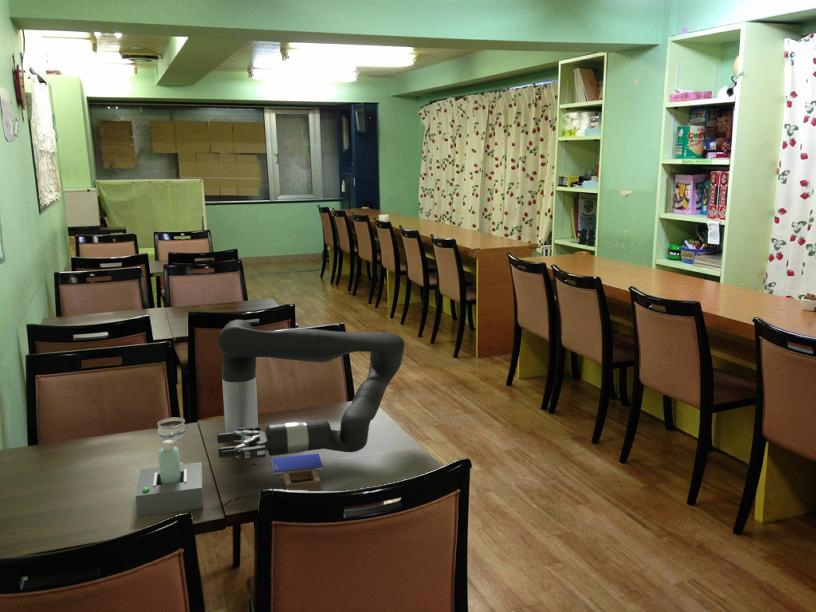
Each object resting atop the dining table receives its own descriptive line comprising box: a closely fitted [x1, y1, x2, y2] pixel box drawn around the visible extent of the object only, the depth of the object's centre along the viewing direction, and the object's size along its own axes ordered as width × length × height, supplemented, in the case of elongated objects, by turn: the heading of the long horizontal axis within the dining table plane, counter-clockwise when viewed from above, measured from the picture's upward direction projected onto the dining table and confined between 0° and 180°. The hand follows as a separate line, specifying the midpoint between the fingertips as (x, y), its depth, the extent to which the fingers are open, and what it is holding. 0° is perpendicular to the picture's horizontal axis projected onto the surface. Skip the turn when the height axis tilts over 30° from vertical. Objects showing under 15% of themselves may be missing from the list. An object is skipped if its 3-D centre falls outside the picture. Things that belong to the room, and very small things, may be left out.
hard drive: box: [271, 453, 324, 476], centre depth 178 cm, size 2×8×12 cm
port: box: [135, 461, 204, 518], centre depth 160 cm, size 14×14×6 cm
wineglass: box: [157, 417, 186, 465], centre depth 176 cm, size 7×7×12 cm
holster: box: [282, 468, 322, 492], centre depth 167 cm, size 8×8×2 cm
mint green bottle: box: [157, 440, 181, 485], centre depth 159 cm, size 4×4×14 cm
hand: (217, 445), depth 161 cm, fingers open, 8 cm apart
